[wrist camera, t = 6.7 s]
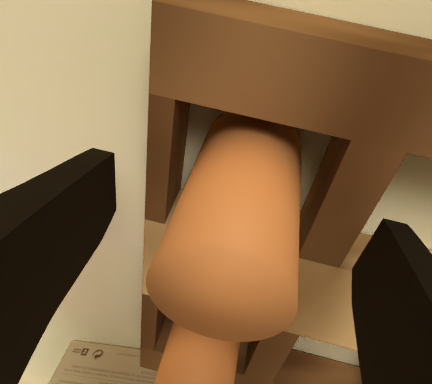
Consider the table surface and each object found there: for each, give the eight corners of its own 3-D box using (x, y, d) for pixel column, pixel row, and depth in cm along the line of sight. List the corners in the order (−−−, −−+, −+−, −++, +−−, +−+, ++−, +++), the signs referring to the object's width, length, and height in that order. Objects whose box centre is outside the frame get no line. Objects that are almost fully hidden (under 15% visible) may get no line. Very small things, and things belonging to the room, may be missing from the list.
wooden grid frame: (649, 86, 9) (721, 124, 7) (356, 388, 20) (360, 427, 19) (177, -15, 9) (152, 0, 8) (152, 332, 21) (140, 366, 19)
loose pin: (315, 121, 11) (322, 273, 6) (284, 197, 13) (272, 356, 8) (215, 94, 11) (151, 226, 7) (199, 174, 13) (141, 318, 9)
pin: (251, 291, 17) (231, 437, 12) (238, 327, 19) (216, 464, 14) (185, 274, 17) (140, 412, 12) (179, 311, 19) (138, 441, 14)
